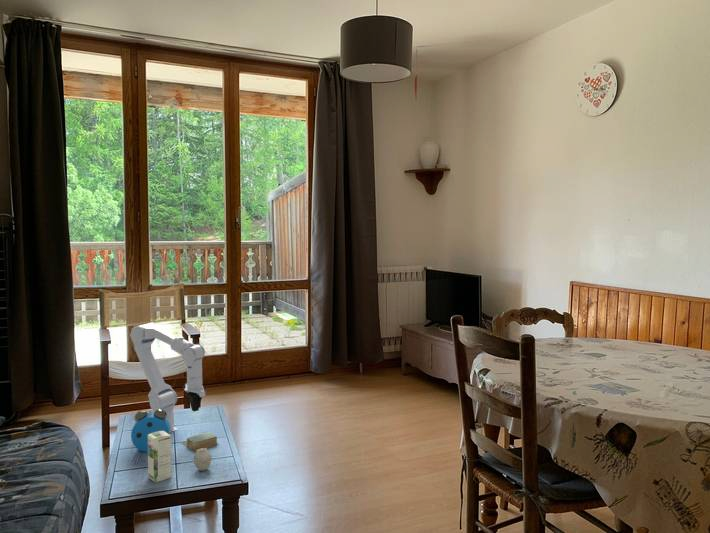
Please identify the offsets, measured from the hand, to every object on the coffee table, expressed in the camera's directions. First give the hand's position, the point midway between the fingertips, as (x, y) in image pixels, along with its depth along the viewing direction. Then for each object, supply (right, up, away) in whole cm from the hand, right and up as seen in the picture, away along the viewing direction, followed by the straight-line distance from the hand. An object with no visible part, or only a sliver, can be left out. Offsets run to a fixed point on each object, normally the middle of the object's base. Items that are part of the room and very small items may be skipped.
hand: (195, 410), depth 209 cm
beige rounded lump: (+11, -13, -28) cm, 33 cm away
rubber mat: (+4, -11, -7) cm, 13 cm away
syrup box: (-2, -13, -33) cm, 36 cm away
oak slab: (+3, -9, -6) cm, 11 cm away
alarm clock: (-13, -12, -12) cm, 21 cm away
